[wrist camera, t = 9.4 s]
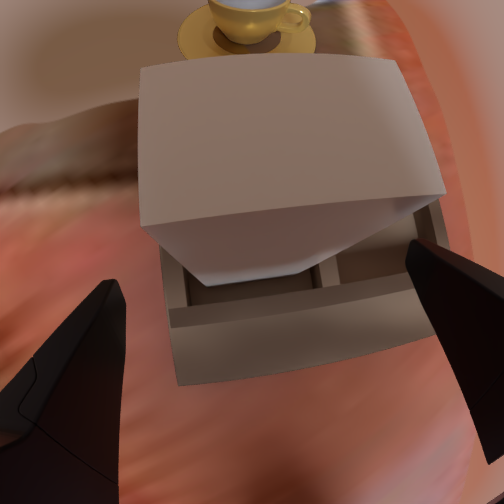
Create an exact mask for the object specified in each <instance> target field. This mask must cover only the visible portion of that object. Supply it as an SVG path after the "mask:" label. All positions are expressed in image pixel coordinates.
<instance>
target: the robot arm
mask: <svg viewBox="0 0 504 504" xmlns="http://www.w3.org/2000/svg"><path fill="white" fill-rule="evenodd" d="M405 266H406V269H407V271H408V274H409V276H410V278H411V281H412V283H413V285H414V288H415V290H416V293H417V295H418V298H419V300H420V302H421V305H422V307H423V309H424V311H425V313H426V315H427V317H428V319H429V321H430V323H431V325H432V327H433V329H434V331H435V333H436V335H437V337H438V339H439V341H440V343H441V345H442V347H443V350H444V352H445V354H446V356H447V358H448V361H449V363H450V365H451V367H452V370H453V372H454V374H455V376H456V379H457V381H458V384H459V386H460V388H461V391H462V393H463V396H464V398H465V401H466V403H467V406H468V408H469V410H470V414H471V417H472V419H473V422H474V425H475V428H476V431H477V433H478V436H479V439H480V442H481V445H482V448H483V451H484V455H485V458H486V461H487V463H488V465H490V464H491V463H493V462H494V461H496V460H497V459H499V458H500V457H501V456H503V455H504V277H502V276H500V275H498V274H496V273H494V272H492V271H491V270H489V269H487V268H485V267H483V266H481V265H479V264H476V263H475V262H473V261H471V260H468V259H466V258H464V257H462V256H460V255H458V254H456V253H454V252H452V251H450V250H448V249H445V248H443V247H441V246H439V245H437V244H435V243H433V242H430V241H428V240H426V239H424V238H417V239H412V240H411V241H410V243H409V246H408V250H407V254H406V258H405ZM125 353H126V302H125V299H124V296H123V294H122V291H121V289H120V286H119V283H118V282H117V280H115V279H109V280H103V281H102V282H101V283H100V284H99V285H98V286H97V287H96V288H95V289H94V290H93V291H92V292H91V293H90V294H89V295H88V296H87V297H86V298H85V299H84V300H83V301H82V302H81V303H80V304H79V305H78V306H77V307H76V308H75V310H74V311H73V312H72V313H71V314H70V315H69V316H68V317H67V318H66V319H65V320H64V321H63V322H62V323H61V325H60V326H59V327H58V328H57V329H56V330H55V331H54V332H53V333H52V334H51V336H50V337H49V338H48V339H47V340H46V341H45V342H44V343H43V345H42V346H41V347H40V348H39V349H38V350H37V351H36V352H35V354H34V355H33V357H31V358H30V359H29V361H28V362H27V363H26V364H25V365H24V366H23V368H22V369H21V370H20V371H19V372H18V373H17V374H16V376H15V377H14V378H13V379H12V380H11V381H10V382H9V383H8V384H7V385H6V386H5V387H4V389H3V390H2V391H1V392H0V504H119V486H118V463H119V430H120V411H121V397H122V385H123V374H124V364H125ZM487 504H504V492H503V493H502V494H500V495H499V496H497V497H496V498H494V499H493V500H491V501H490V502H488V503H487Z"/></svg>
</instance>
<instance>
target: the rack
mask: <svg viewBox="0 0 504 504" xmlns="http://www.w3.org/2000/svg"><path fill="white" fill-rule="evenodd" d="M417 238H424V239H426V240H428V241H430V242H433V243H435V244H437V245H439V246H441V247H443V248H445V249H448V250H450V246H449V241H448V237H447V232H446V227H445V223H444V219H443V215H442V211H441V207H440V203H439V199H437V200H435V201H433V202H431V203H430V204H428V205H426V206H424V207H422V208H421V209H419V210H417V211H415V212H413V213H412V214H410V215H408V216H406V217H404V218H403V219H401V220H399V221H397V222H395V223H393V224H392V225H390V226H388V227H386V228H384V229H382V230H380V231H379V232H377V233H375V234H373V235H371V236H369V237H367V238H365V239H364V240H362V241H360V242H358V243H356V244H354V245H352V246H350V247H348V248H347V249H345V250H343V251H341V252H339V253H337V254H335V255H333V256H331V257H329V258H327V259H325V260H323V261H322V262H320V263H318V264H316V265H314V266H312V267H310V268H308V269H306V270H304V271H302V272H300V273H298V274H296V275H293V276H287V277H280V278H273V279H266V280H259V281H252V282H245V283H238V284H230V285H223V286H215V287H208V288H207V287H206V286H205V285H204V284H203V283H202V282H201V281H199V280H198V279H197V278H196V277H195V276H194V275H193V274H192V273H190V272H189V271H188V270H187V269H186V268H185V267H184V266H183V265H181V264H180V263H179V262H178V261H177V260H176V259H175V258H174V257H173V256H172V255H170V254H169V253H168V252H167V251H166V250H165V249H164V248H163V247H162V246H161V245H160V244H159V249H160V259H161V269H162V279H163V288H164V296H165V304H166V312H167V319H168V327H169V334H170V340H171V347H172V353H173V359H174V365H175V371H176V377H177V383H178V386H186V385H197V384H206V383H215V382H223V381H231V380H239V379H246V378H253V377H259V376H266V375H272V374H278V373H283V372H289V371H294V370H299V369H305V368H310V367H315V366H319V365H324V364H329V363H333V362H338V361H342V360H346V359H351V358H355V357H359V356H363V355H367V354H371V353H374V352H378V351H382V350H386V349H389V348H393V347H396V346H400V345H403V344H407V343H410V342H413V341H417V340H420V339H423V338H426V337H429V336H432V335H435V334H436V333H435V331H434V329H433V327H432V325H431V323H430V321H429V319H428V317H427V315H426V313H425V311H424V309H423V307H422V305H421V302H420V300H419V298H418V295H417V293H416V290H415V288H414V285H413V283H412V281H411V278H410V276H409V274H408V271H407V269H406V266H405V258H406V254H407V250H408V246H409V243H410V241H411V240H412V239H417Z"/></svg>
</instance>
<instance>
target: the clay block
mask: <svg viewBox="0 0 504 504" xmlns="http://www.w3.org/2000/svg"><path fill="white" fill-rule="evenodd" d="M139 84H140V85H139V106H138V184H139V209H140V226H141V228H142V229H144V230H145V231H146V232H147V233H148V234H149V235H150V236H151V237H152V238H153V239H154V240H155V241H156V242H157V243H159V244H160V245H161V246H162V247H163V248H164V249H165V250H166V251H167V252H168V253H169V254H170V255H172V256H173V257H174V258H175V259H176V260H177V261H178V262H179V263H180V264H181V265H183V266H184V267H185V268H186V269H187V270H188V271H189V272H190V273H192V274H193V275H194V276H195V277H196V278H197V279H198V280H199V281H201V282H202V283H203V284H204V285H205V286H206V287H207V288H208V287H215V286H223V285H230V284H238V283H245V282H252V281H259V280H266V279H273V278H280V277H287V276H293V275H296V274H298V273H300V272H302V271H304V270H306V269H308V268H310V267H312V266H314V265H316V264H318V263H320V262H322V261H323V260H325V259H327V258H329V257H331V256H333V255H335V254H337V253H339V252H341V251H343V250H345V249H347V248H348V247H350V246H352V245H354V244H356V243H358V242H360V241H362V240H364V239H365V238H367V237H369V236H371V235H373V234H375V233H377V232H379V231H380V230H382V229H384V228H386V227H388V226H390V225H392V224H393V223H395V222H397V221H399V220H401V219H403V218H404V217H406V216H408V215H410V214H412V213H413V212H415V211H417V210H419V209H421V208H422V207H424V206H426V205H428V204H430V203H431V202H433V201H435V200H437V199H438V198H440V197H442V196H444V195H445V194H447V193H446V190H445V186H444V183H443V179H442V176H441V173H440V170H439V167H438V163H437V160H436V157H435V154H434V152H433V149H432V146H431V143H430V140H429V137H428V135H427V132H426V129H425V127H424V124H423V122H422V119H421V117H420V114H419V112H418V109H417V107H416V104H415V102H414V100H413V98H412V95H411V93H410V91H409V89H408V86H407V84H406V82H405V80H404V78H403V76H402V73H401V71H400V69H399V67H398V65H397V63H396V61H395V60H388V59H380V58H372V57H362V56H351V55H338V54H318V53H262V54H242V55H228V56H217V57H207V58H198V59H191V60H184V61H177V62H170V63H164V64H158V65H153V66H147V67H142V68H140V83H139Z"/></svg>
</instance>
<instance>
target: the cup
mask: <svg viewBox="0 0 504 504" xmlns="http://www.w3.org/2000/svg"><path fill="white" fill-rule="evenodd" d="M208 3H209V4H207V5H205V6H202V7H200V8H199V9H197V10H196V11H194V12H193V13H191V14H190V15H189V16H188V17H187V18H186V19H185V20H184V21H183V23H182V24H181V26H180V28H179V31H178V35H177V42H178V46H179V49H180V51H181V53H182V54H183V56H184V57H185V58H186V59H187V60H191V59H198V58H207V57H217V56H228V55H242V54H250V52H249V51H248V49H247V48H246V47H245V45H244V44H246V45H248V44H255V43H259V42H261V41H263V40H264V39H266V38H267V37H268V36H269V35H270V34H272V33H274V32H276V31H280V33H281V41H280V43H279V45H278V46H277V47H276V48H275V49H273V50H271V51H269V52H267V53H314V51H315V48H316V38H315V35H314V32H313V30H312V28H311V27H310V25H309V23H310V20H311V13H310V11H309V10H308V9H307V8H305V7H303V6H301V5H298V4H294V3H291V0H208Z"/></svg>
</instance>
